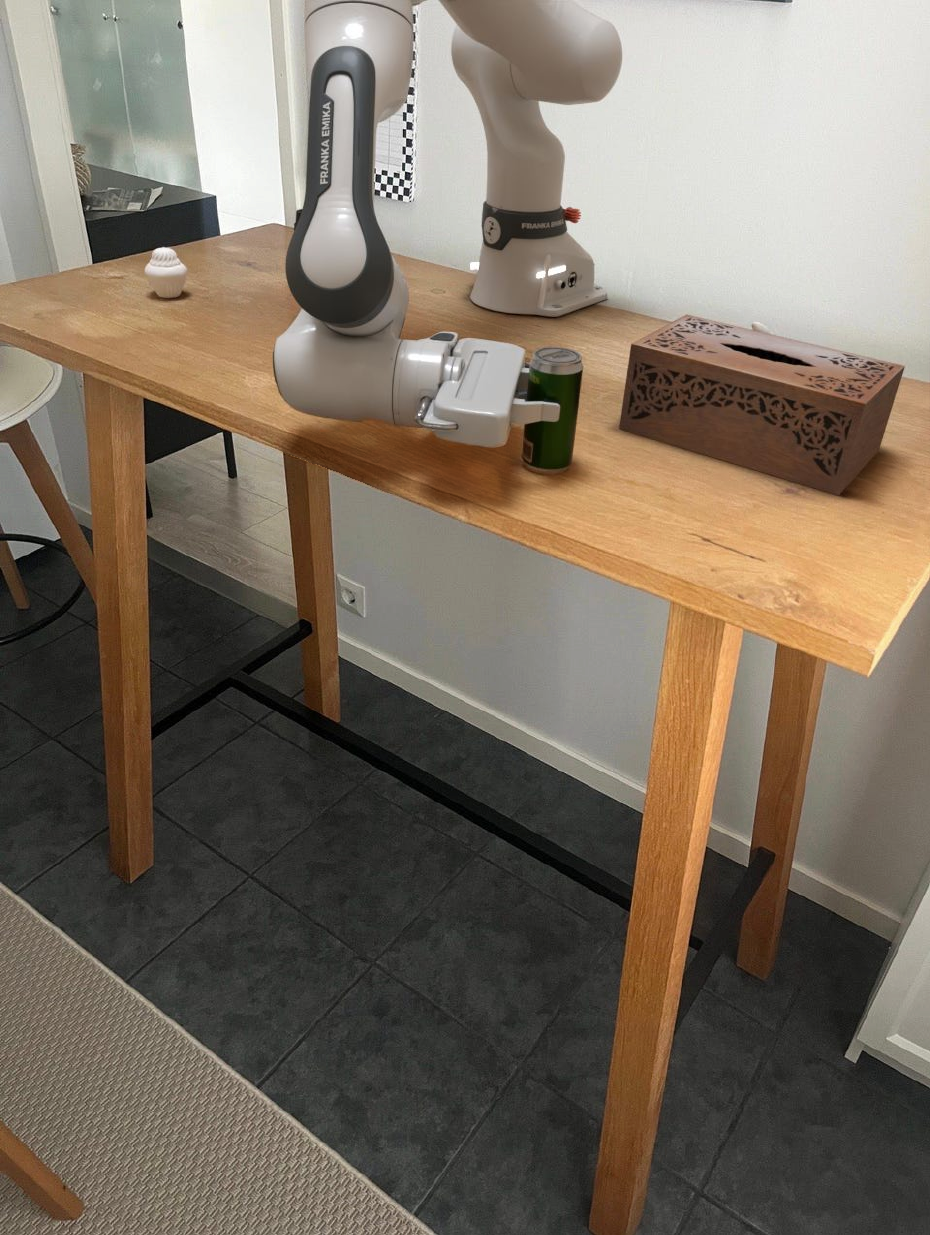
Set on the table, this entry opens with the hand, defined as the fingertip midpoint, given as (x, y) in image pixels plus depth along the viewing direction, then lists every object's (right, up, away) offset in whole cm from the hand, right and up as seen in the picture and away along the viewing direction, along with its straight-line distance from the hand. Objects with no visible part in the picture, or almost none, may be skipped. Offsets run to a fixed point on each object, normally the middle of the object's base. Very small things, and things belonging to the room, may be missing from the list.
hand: (561, 398), depth 101 cm
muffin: (-54, +26, +47) cm, 76 cm away
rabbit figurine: (+31, +12, +33) cm, 47 cm away
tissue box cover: (+23, -2, +12) cm, 26 cm away
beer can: (-1, -6, +4) cm, 8 cm away
